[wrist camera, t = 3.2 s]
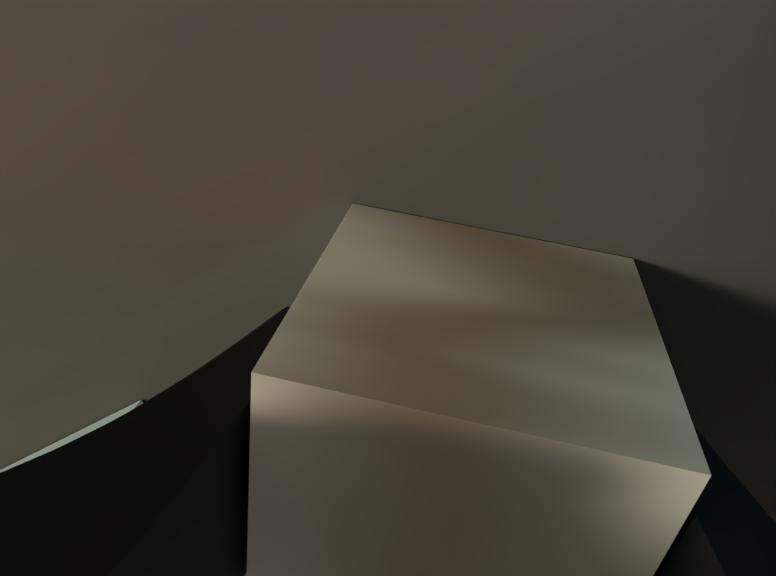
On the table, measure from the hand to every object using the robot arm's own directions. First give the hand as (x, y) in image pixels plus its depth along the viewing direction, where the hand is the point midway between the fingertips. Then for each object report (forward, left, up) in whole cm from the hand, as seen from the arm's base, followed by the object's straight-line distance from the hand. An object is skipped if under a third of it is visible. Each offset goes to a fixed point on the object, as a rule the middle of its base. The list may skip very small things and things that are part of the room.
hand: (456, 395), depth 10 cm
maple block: (0, 0, -1) cm, 1 cm away
